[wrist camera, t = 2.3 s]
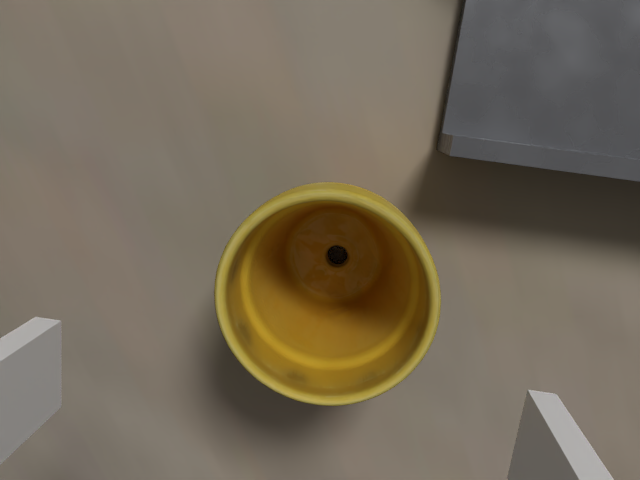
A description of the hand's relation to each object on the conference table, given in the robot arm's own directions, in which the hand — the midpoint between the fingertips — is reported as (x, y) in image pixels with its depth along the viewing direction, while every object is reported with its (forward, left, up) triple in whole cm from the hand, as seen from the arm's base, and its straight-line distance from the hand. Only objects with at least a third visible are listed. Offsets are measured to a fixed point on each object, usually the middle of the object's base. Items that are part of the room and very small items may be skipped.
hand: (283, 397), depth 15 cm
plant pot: (-1, -1, -19) cm, 19 cm away
